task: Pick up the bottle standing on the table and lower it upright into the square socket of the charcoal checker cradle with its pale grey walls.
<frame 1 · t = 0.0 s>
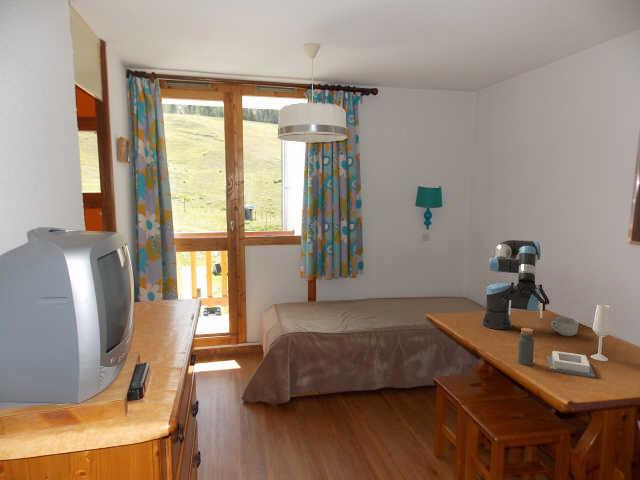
hand: (525, 315, 201), 15 cm above the table, tool tilted 35°, fingers open, 13 cm apart
bottle: (525, 363, 184), on the table
champagne flute: (599, 358, 189), on the table
teacup: (562, 334, 220), on the table
checker cradle: (569, 367, 179), on the table
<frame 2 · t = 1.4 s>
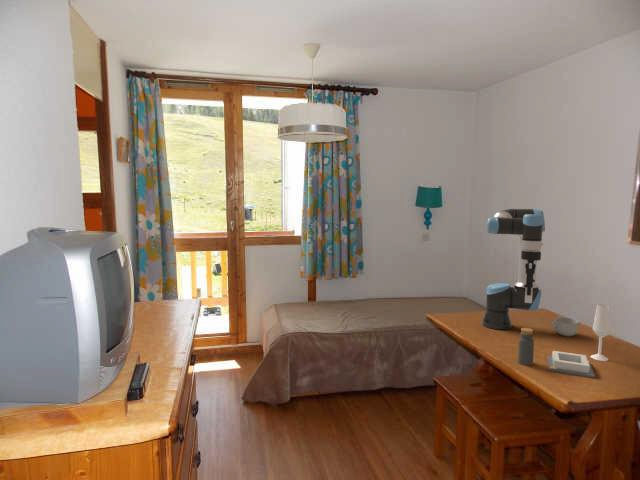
hand: (528, 299, 182), 28 cm above the table, tool pointing down, fingers open, 13 cm apart
nothing on the table moved.
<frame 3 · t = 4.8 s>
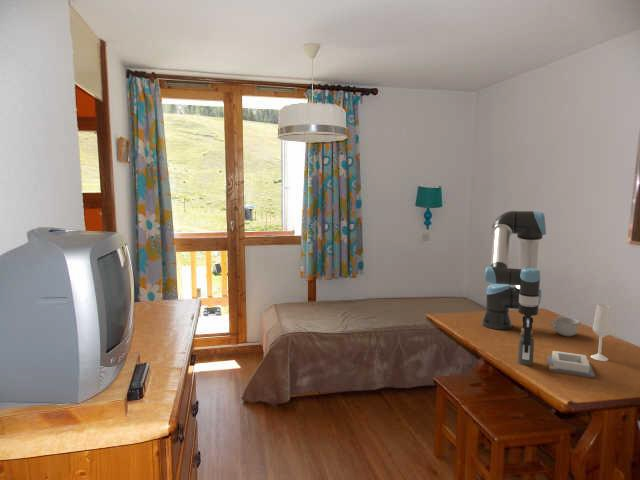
hand: (525, 356, 183), 3 cm above the table, tool pointing down, fingers closed on bottle, 6 cm apart
bottle: (525, 363, 184), on the table, touching gripper
everything else where it was.
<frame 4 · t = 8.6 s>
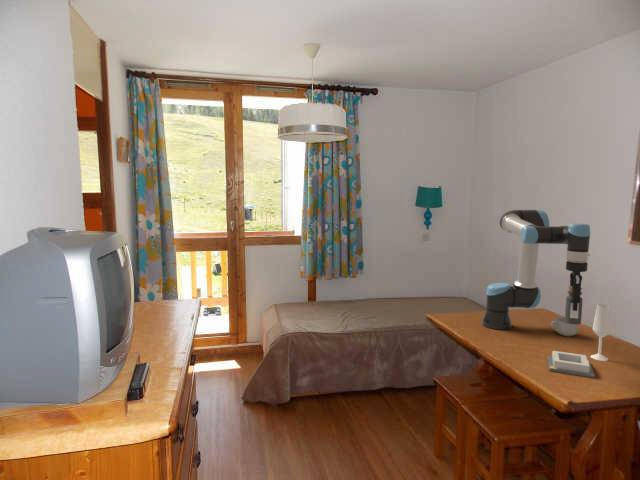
hand: (573, 315, 177), 22 cm above the table, tool pointing down, fingers closed on bottle, 6 cm apart
bottle: (572, 322, 177), point 19 cm above the table, touching gripper
everything else where it was.
when the fingers open (5 cm above the table, at t = 12.4 s): bottle drops 1 cm, resting on checker cradle.
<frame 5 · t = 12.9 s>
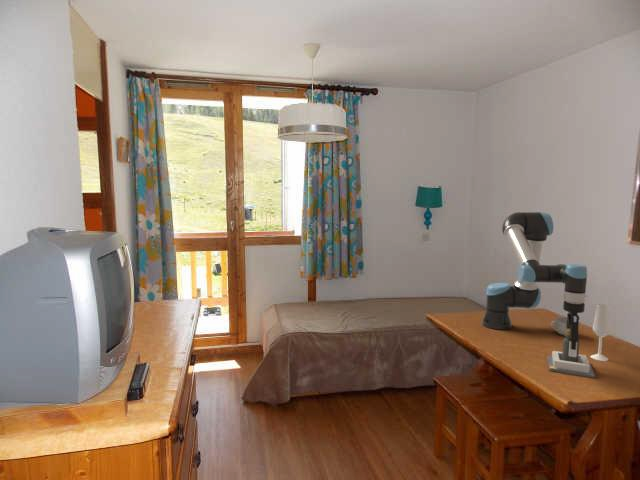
hand: (570, 350, 178), 7 cm above the table, tool pointing down, fingers open, 13 cm apart
bottle: (569, 364, 179), point 1 cm above the table, touching checker cradle
everything else where it was.
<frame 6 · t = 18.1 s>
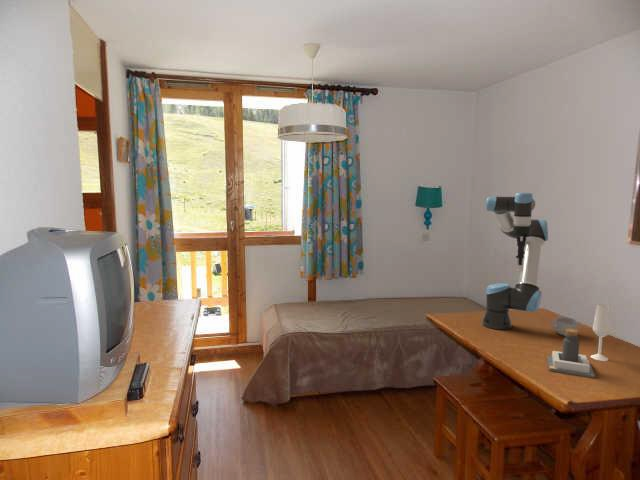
hand: (519, 269, 204), 37 cm above the table, tool pointing down, fingers open, 13 cm apart
nothing on the table moved.
at the end: bottle 0.4 cm off-centre on the checker cradle, point 0.8 cm above the checker cradle's base; bottle tilted 0°; the gripper is holding nothing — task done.
